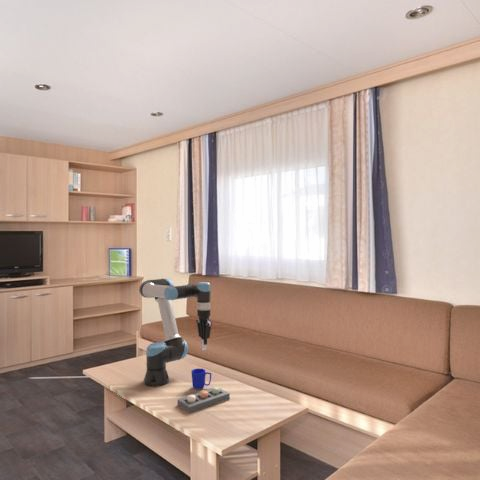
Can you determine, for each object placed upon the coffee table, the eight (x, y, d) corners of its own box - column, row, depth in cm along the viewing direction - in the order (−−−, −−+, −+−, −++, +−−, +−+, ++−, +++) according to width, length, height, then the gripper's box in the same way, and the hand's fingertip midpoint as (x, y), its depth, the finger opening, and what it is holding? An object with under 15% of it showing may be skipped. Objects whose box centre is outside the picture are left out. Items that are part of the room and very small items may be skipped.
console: (177, 405, 208) (177, 399, 208) (216, 392, 225) (216, 386, 225) (189, 412, 199) (189, 407, 199) (229, 398, 216) (229, 393, 216)
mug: (209, 391, 226) (209, 374, 226) (189, 389, 229) (189, 372, 228) (213, 385, 234) (213, 369, 234) (194, 384, 237) (193, 368, 237)
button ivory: (185, 401, 207) (185, 396, 207) (192, 399, 210) (192, 394, 210) (190, 404, 204) (190, 398, 204) (197, 402, 207) (197, 396, 207)
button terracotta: (198, 397, 212) (198, 392, 212) (205, 395, 215) (204, 390, 215) (202, 400, 209) (202, 394, 209) (209, 398, 212) (209, 392, 212)
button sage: (210, 393, 217) (210, 388, 217) (216, 391, 220) (216, 386, 220) (214, 396, 214) (214, 390, 214) (221, 394, 217) (221, 388, 217)
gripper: (192, 308, 227) (192, 348, 228) (204, 311, 217) (205, 353, 218) (202, 306, 232) (203, 346, 233) (215, 310, 222) (216, 351, 223)
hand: (204, 349), depth 225 cm, fingers closed
